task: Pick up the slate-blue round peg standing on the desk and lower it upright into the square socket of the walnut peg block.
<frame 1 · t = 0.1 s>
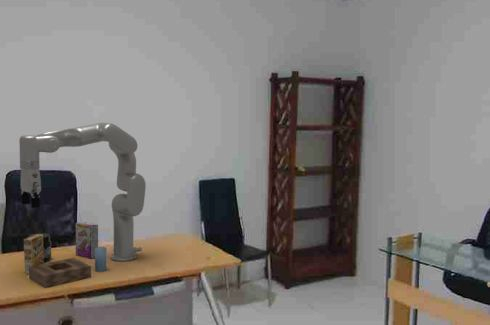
hand: (30, 205, 207), 31 cm above the table, tool pointing down, fingers open, 9 cm apart
candy bar box: (86, 256, 243), on the table
candy box: (34, 270, 220), on the table
supplement container: (39, 260, 234), on the table
peg: (100, 270, 222), on the table
peg block: (60, 277, 211), on the table
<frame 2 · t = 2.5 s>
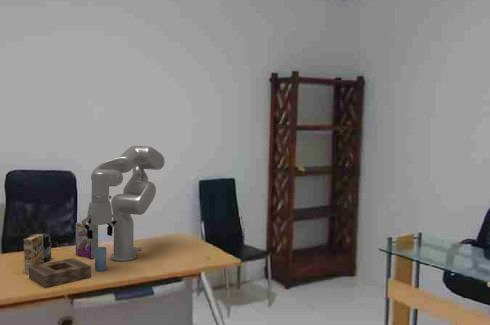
hand: (100, 237, 220), 15 cm above the table, tool pointing down, fingers open, 9 cm apart
nothing on the table moved.
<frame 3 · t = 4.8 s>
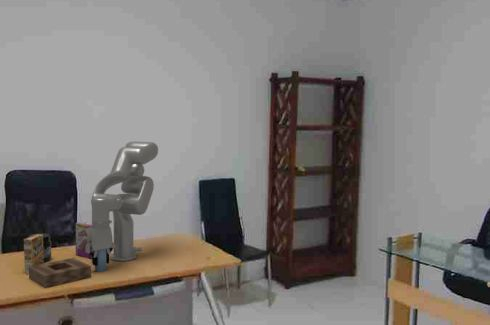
hand: (100, 263, 222), 3 cm above the table, tool pointing down, fingers closed on peg, 5 cm apart
peg: (100, 270, 222), on the table, touching gripper
everything else where it was.
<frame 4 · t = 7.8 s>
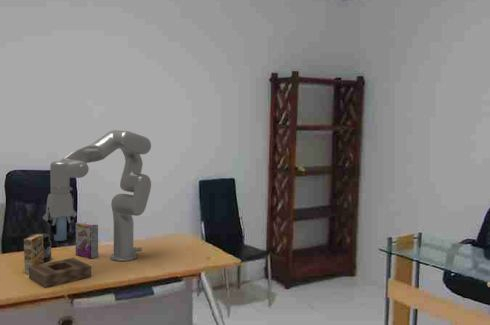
hand: (60, 232, 209), 20 cm above the table, tool pointing down, fingers closed on peg, 5 cm apart
peg: (60, 239, 209), point 17 cm above the table, touching gripper
everything else where it was.
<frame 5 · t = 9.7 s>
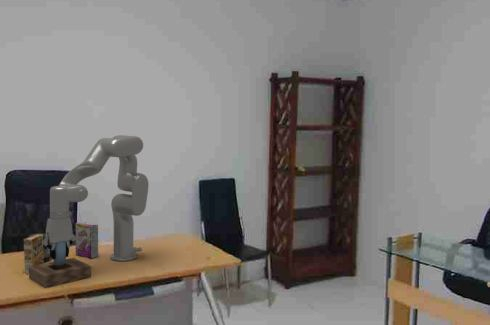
hand: (59, 257, 210), 9 cm above the table, tool pointing down, fingers closed on peg, 5 cm apart
peg: (59, 263, 210), point 6 cm above the table, touching gripper
everything else where it was.
when the fingers open (6 cm above the table, at t = 11.2 s): peg drops 2 cm, resting on peg block.
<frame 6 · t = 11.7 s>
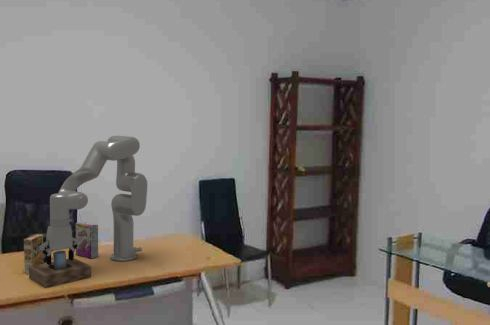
hand: (60, 262, 210), 7 cm above the table, tool pointing down, fingers open, 9 cm apart
peg: (60, 275, 211), point 1 cm above the table, touching peg block
everything else where it was.
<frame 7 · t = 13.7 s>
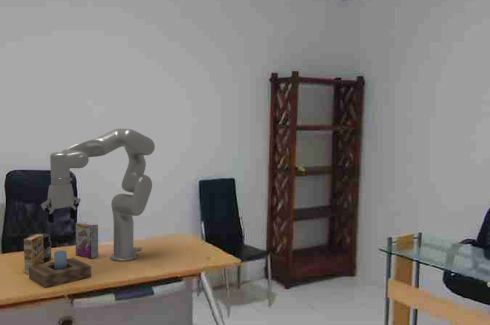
hand: (62, 220, 212), 24 cm above the table, tool pointing down, fingers open, 9 cm apart
nothing on the table moved.
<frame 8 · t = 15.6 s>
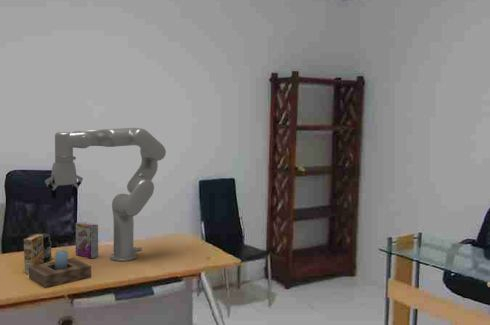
hand: (64, 197, 222), 32 cm above the table, tool pointing down, fingers open, 9 cm apart
nothing on the table moved.
at the end: peg 0.2 cm off-centre on the peg block, point 1.1 cm above the peg block's base; peg tilted 2°; the gripper is holding nothing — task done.
